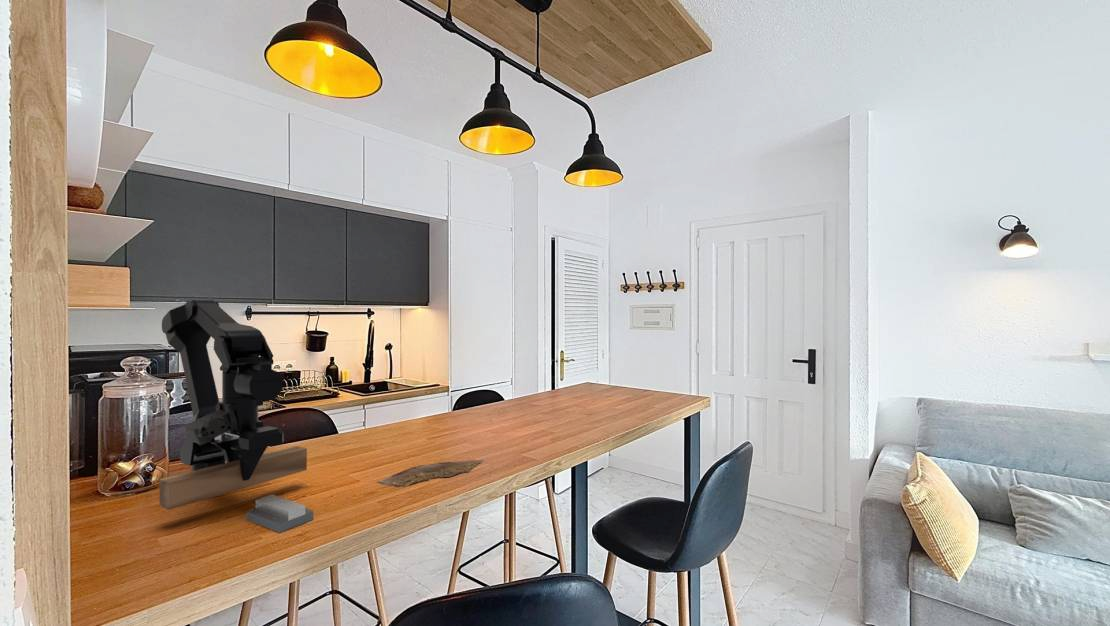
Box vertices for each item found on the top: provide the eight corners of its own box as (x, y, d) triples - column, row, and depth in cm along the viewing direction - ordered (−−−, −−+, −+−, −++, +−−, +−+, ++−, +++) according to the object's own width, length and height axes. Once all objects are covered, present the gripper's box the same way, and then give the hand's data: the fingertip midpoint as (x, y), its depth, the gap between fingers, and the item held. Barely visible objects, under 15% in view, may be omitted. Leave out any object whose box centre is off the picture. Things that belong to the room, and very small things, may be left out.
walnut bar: (159, 505, 83) (159, 478, 83) (297, 467, 104) (297, 446, 104) (168, 509, 81) (168, 482, 81) (306, 470, 102) (306, 448, 102)
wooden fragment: (385, 492, 100) (385, 487, 100) (370, 477, 109) (370, 473, 109) (496, 469, 115) (496, 464, 115) (475, 457, 124) (475, 453, 124)
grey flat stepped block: (246, 519, 86) (246, 502, 86) (280, 507, 91) (280, 491, 91) (279, 532, 81) (279, 514, 81) (313, 519, 86) (313, 502, 86)
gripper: (167, 397, 90) (167, 482, 90) (219, 408, 81) (219, 502, 81) (232, 389, 100) (232, 465, 100) (285, 397, 90) (285, 482, 90)
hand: (240, 478), depth 93 cm, fingers closed on walnut bar, 3 cm apart
